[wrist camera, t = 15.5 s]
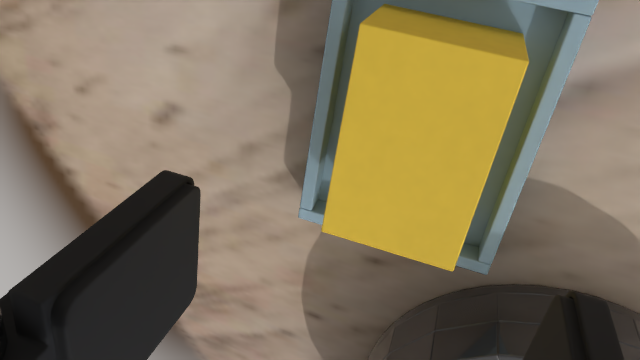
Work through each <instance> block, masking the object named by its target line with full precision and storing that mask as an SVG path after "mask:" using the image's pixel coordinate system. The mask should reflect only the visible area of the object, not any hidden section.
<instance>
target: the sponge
mask: <svg viewBox="0 0 640 360" xmlns="http://www.w3.org/2000/svg"><path fill="white" fill-rule="evenodd" d="M528 64H529V59H528V54H527V49H526V44H525V39H524V35H523V33H518V32H514V31H509V30H504V29H500V28H495V27H491V26H486V25H481V24H477V23H472V22H467V21H463V20H458V19H454V18H449V17H444V16H440V15H435V14H430V13H426V12H421V11H416V10H412V9H407V8H403V7H398V6H393V5H389V4H383V5H382V6H381V7H380V8H379V9H377V10H376V11H375V12H374V13H372V14H371V15H370V16H369V17H367V18H366V19H365V20H364V21H363V22H361V23H360V26H359V31H358V36H357V42H356V47H355V52H354V58H353V63H352V68H351V74H350V79H349V84H348V90H347V95H346V101H345V106H344V111H343V117H342V122H341V127H340V133H339V138H338V143H337V149H336V154H335V159H334V165H333V170H332V176H331V181H330V186H329V192H328V197H327V202H326V208H325V213H324V218H323V224H322V229H321V230H322V232H325V233H328V234H332V235H335V236H338V237H341V238H345V239H348V240H351V241H354V242H358V243H361V244H364V245H367V246H371V247H374V248H377V249H380V250H384V251H387V252H390V253H393V254H397V255H400V256H403V257H406V258H410V259H413V260H416V261H419V262H423V263H426V264H429V265H432V266H436V267H439V268H442V269H445V270H449V271H454V268H455V266H456V263H457V260H458V257H459V254H460V252H461V249H462V246H463V243H464V241H465V238H466V235H467V232H468V230H469V227H470V224H471V221H472V219H473V216H474V213H475V210H476V208H477V205H478V202H479V199H480V197H481V194H482V191H483V188H484V186H485V183H486V180H487V177H488V174H489V172H490V169H491V166H492V163H493V161H494V158H495V155H496V152H497V150H498V147H499V144H500V141H501V139H502V136H503V133H504V130H505V128H506V125H507V122H508V119H509V117H510V114H511V111H512V108H513V106H514V103H515V100H516V97H517V95H518V92H519V89H520V86H521V83H522V81H523V78H524V75H525V72H526V70H527V67H528Z"/></svg>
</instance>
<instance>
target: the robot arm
mask: <svg viewBox="0 0 640 360" xmlns="http://www.w3.org/2000/svg"><path fill="white" fill-rule="evenodd" d="M199 218H200V189H199V188H198V187H196V186H194V181H193V179H192V178H191V177H188V176H184V175H181V174H177V173H174V172H171V171H166V170H164V171H162V172H161V173H159V174H158V175H157V176H155V177H154V178H153V179H152V180H150V181H149V182H148V183H146V184H145V185H144V186H143V187H141V188H140V189H139V190H137V191H136V192H135V193H134V194H132V195H131V196H130V197H128V198H127V199H126V200H125V201H123V202H122V203H121V204H120V205H118V206H117V207H116V208H114V209H113V210H112V211H111V212H109V213H108V214H107V215H105V216H104V217H103V218H102V219H100V220H99V221H98V222H96V223H95V224H94V225H93V226H91V227H90V228H89V229H88V230H86V231H85V232H84V233H82V234H81V235H80V236H79V237H77V238H76V239H75V240H73V241H72V242H71V243H70V244H68V245H67V246H66V247H64V248H63V249H62V250H61V251H59V252H58V253H57V254H55V255H54V256H53V257H52V258H50V259H49V260H48V261H46V262H45V263H44V264H43V265H41V266H40V267H39V268H37V269H36V270H35V271H34V272H33V273H31V274H30V275H29V276H27V277H26V278H25V279H23V280H22V281H21V282H20V283H18V284H17V285H16V286H14V287H13V288H12V289H11V290H9V292H8V293H7V294H6V295H5V296H3V297H2V298H1V299H0V360H147V359H148V357H149V356H150V355H151V353H152V352H153V351H154V350H155V348H156V347H157V346H158V344H159V343H160V342H161V340H162V339H163V338H164V337H165V335H166V334H167V333H168V332H169V330H170V329H171V328H172V326H173V325H174V324H175V323H176V321H177V320H178V319H179V317H180V316H181V315H182V314H183V312H184V311H185V310H186V308H187V307H188V306H189V304H190V303H191V301H192V300H193V298H194V295H195V292H196V287H197V265H198V242H199ZM523 360H624V357H623V353H622V350H621V346H620V343H619V340H618V336H617V333H616V330H615V326H614V323H613V319H612V316H611V313H610V309H609V306H608V304H607V302H606V301H605V300H603V299H600V298H596V297H593V296H590V295H586V294H583V293H579V292H576V291H573V290H572V291H569V292H568V293H567V294H566V296H561V295H556V296H555V297H554V299H553V300H552V302H551V304H550V306H549V308H548V310H547V312H546V314H545V316H544V318H543V320H542V322H541V324H540V326H539V328H538V330H537V332H536V334H535V336H534V338H533V340H532V342H531V344H530V346H529V348H528V350H527V352H526V354H525V356H524V358H523Z"/></svg>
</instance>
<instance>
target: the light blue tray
mask: <svg viewBox="0 0 640 360" xmlns="http://www.w3.org/2000/svg"><path fill="white" fill-rule="evenodd" d="M598 1H599V0H332V5H331V12H330V18H329V25H328V31H327V37H326V44H325V50H324V56H323V63H322V69H321V76H320V82H319V88H318V95H317V101H316V108H315V114H314V120H313V127H312V133H311V139H310V146H309V152H308V159H307V165H306V171H305V178H304V184H303V190H302V197H301V203H300V209H299V216H298V217H299V218H301V219H304V220H308V221H311V222H314V223H317V224H321V225H322V224H323V218H324V213H325V208H326V202H327V197H328V192H329V186H330V181H331V176H332V170H333V165H334V159H335V154H336V149H337V143H338V138H339V133H340V127H341V122H342V117H343V111H344V106H345V101H346V95H347V90H348V84H349V79H350V74H351V68H352V63H353V58H354V52H355V47H356V42H357V36H358V31H359V26H360V23H361V22H363V21H364V20H365V19H366V18H367V17H369V16H370V15H371V14H372V13H374V12H375V11H376V10H377V9H379V8H380V7H381V6H382V5H383V4H389V5H393V6H398V7H403V8H407V9H412V10H416V11H421V12H426V13H430V14H435V15H440V16H444V17H449V18H454V19H458V20H463V21H467V22H472V23H477V24H481V25H486V26H491V27H495V28H500V29H504V30H509V31H514V32H518V33H523V35H524V39H525V44H526V49H527V54H528V59H529V64H528V67H527V70H526V72H525V75H524V78H523V81H522V83H521V86H520V89H519V92H518V95H517V97H516V100H515V103H514V106H513V108H512V111H511V114H510V117H509V119H508V122H507V125H506V128H505V130H504V133H503V136H502V139H501V141H500V144H499V147H498V150H497V152H496V155H495V158H494V161H493V163H492V166H491V169H490V172H489V174H488V177H487V180H486V183H485V186H484V188H483V191H482V194H481V197H480V199H479V202H478V205H477V208H476V210H475V213H474V216H473V219H472V221H471V224H470V227H469V230H468V232H467V235H466V238H465V241H464V243H463V246H462V249H461V252H460V254H459V257H458V260H457V263H456V266H458V267H462V268H465V269H468V270H472V271H475V272H478V273H481V274H485V275H487V274H488V271H489V269H490V267H491V264H492V261H493V259H494V257H495V254H496V252H497V249H498V247H499V244H500V242H501V239H502V237H503V234H504V232H505V230H506V227H507V225H508V222H509V220H510V217H511V215H512V212H513V210H514V207H515V205H516V202H517V200H518V198H519V195H520V193H521V190H522V188H523V185H524V183H525V180H526V178H527V175H528V173H529V171H530V168H531V166H532V163H533V161H534V158H535V156H536V153H537V151H538V148H539V146H540V143H541V141H542V139H543V136H544V134H545V131H546V129H547V126H548V124H549V121H550V119H551V116H552V114H553V112H554V109H555V107H556V104H557V102H558V99H559V97H560V94H561V92H562V89H563V87H564V84H565V82H566V80H567V77H568V75H569V72H570V70H571V67H572V65H573V62H574V60H575V57H576V55H577V53H578V50H579V48H580V45H581V43H582V40H583V38H584V35H585V33H586V30H587V28H588V25H589V23H590V21H591V16H592V15H593V13H594V11H595V8H596V6H597V3H598Z"/></svg>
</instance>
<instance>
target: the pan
mask: <svg viewBox="0 0 640 360" xmlns="http://www.w3.org/2000/svg"><path fill="white" fill-rule="evenodd" d="M569 291H571V290H566V289H559V288H552V287H545V286H533V285H497V286H485V287H478V288H472V289H466V290H461V291H458V292H454V293H450V294H447V295H443V296H440V297H438V298H436V299H433V300H431V301H428V302H426V303H423V304H421V305H420V306H418V307H416V308H415V309H413V310H411V311H409V312H408V313H406V314H405V315H403V316H402V317H401V318H400V319H398V320H397V321H396V322H395V323H393V324H392V325H391V326H390V327H389V328H388V329H387V330H386V331H385V333H384V334H383V335H382V336H381V337H380V338H379V340H378V341H377V343H376V345H375V346H374V348H373V349H372V351H371V354H370V355H369V357H368V360H523V358H524V356H525V354H526V352H527V350H528V348H529V346H530V344H531V342H532V340H533V338H534V336H535V334H536V332H537V330H538V328H539V326H540V324H541V322H542V320H543V318H544V316H545V314H546V312H547V310H548V308H549V306H550V304H551V302H552V300H553V299H554V297H555V296H556V295H561V296H566V294H567V293H568V292H569ZM586 295H587V294H586ZM590 296H591V295H590ZM593 297H595V296H593ZM596 298H598V297H596ZM600 299H601V298H600ZM603 300H604V299H603ZM605 301H606V300H605ZM606 302H607V304H608V306H609V309H610V313H611V316H612V319H613V323H614V326H615V330H616V333H617V336H618V340H619V343H620V346H621V350H622V353H623V357H624V360H640V314H638V313H635V312H633V311H631V310H629V309H627V308H625V307H623V306H620V305H618V304H615V303H612V302H609V301H606Z"/></svg>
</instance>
